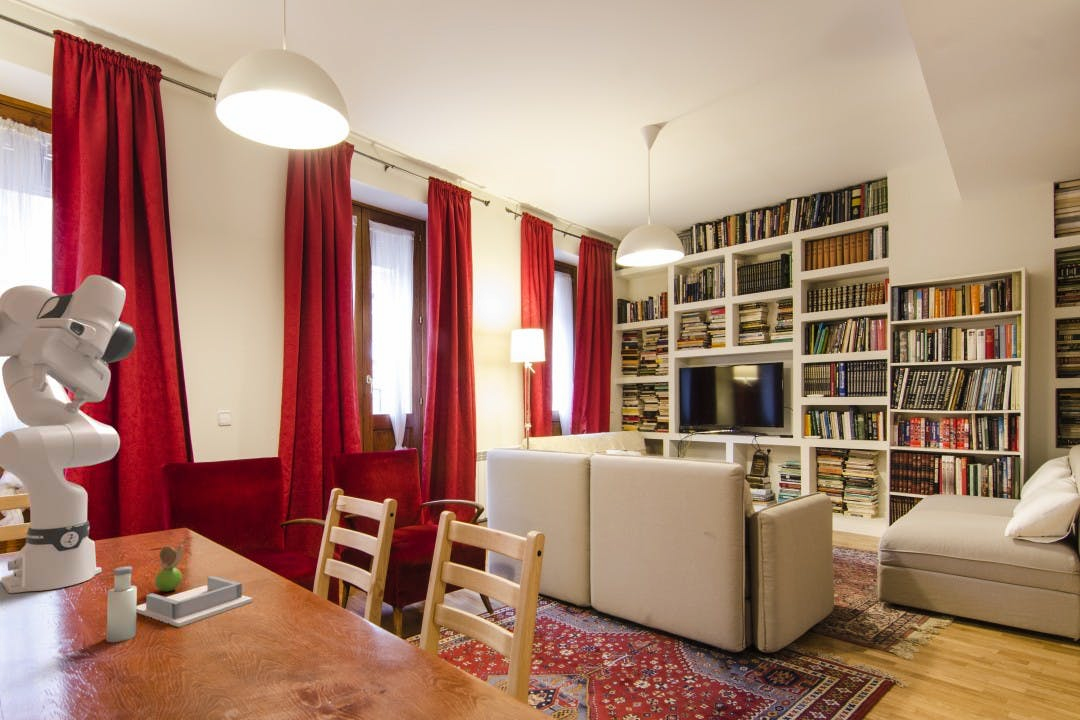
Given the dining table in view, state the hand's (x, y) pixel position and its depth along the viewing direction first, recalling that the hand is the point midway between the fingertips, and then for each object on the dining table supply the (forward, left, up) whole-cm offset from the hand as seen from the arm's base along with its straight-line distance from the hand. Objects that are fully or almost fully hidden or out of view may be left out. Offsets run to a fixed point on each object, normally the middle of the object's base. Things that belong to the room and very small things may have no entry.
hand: (53, 401), depth 116 cm
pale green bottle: (+13, +7, -45) cm, 48 cm away
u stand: (+9, +23, -45) cm, 52 cm away
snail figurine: (-6, +26, -46) cm, 53 cm away
